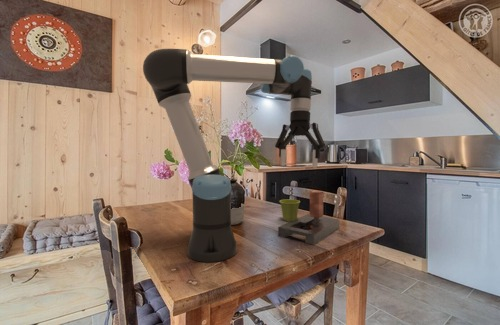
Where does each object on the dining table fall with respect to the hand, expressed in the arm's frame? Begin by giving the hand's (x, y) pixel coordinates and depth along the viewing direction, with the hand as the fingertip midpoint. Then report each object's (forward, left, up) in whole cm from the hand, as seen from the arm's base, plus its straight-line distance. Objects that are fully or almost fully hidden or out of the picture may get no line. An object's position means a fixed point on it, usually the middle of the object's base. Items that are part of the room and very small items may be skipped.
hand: (298, 166), depth 94 cm
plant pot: (-11, +13, -26) cm, 31 cm away
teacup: (-29, -6, -26) cm, 39 cm away
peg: (+4, +8, -25) cm, 27 cm away
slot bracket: (+4, +3, -25) cm, 26 cm away
